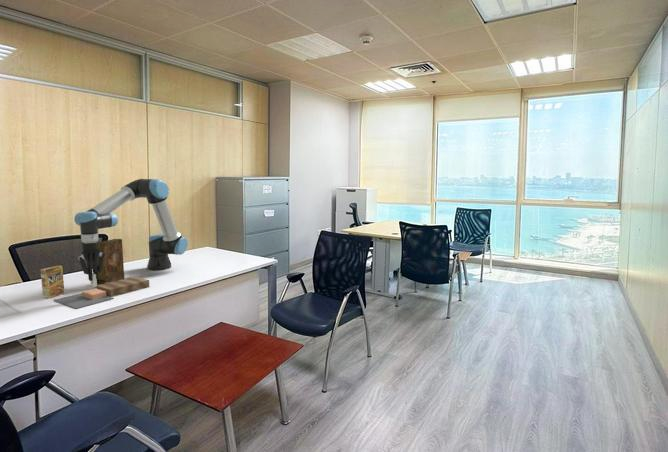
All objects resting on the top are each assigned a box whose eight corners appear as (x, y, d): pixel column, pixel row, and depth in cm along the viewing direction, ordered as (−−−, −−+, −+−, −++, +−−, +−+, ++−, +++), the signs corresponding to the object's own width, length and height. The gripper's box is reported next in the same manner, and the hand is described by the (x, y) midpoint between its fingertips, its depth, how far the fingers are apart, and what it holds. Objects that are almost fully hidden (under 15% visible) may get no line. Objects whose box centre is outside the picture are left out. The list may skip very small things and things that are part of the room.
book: (118, 278, 239) (115, 238, 236) (125, 279, 238) (123, 239, 235) (96, 286, 224) (93, 243, 220) (105, 286, 222) (102, 243, 219)
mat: (90, 291, 213) (90, 290, 213) (113, 299, 202) (113, 298, 202) (53, 300, 198) (53, 299, 198) (76, 309, 187) (76, 308, 187)
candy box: (47, 298, 201) (45, 269, 199) (42, 297, 203) (39, 268, 200) (65, 293, 209) (62, 266, 207) (59, 292, 211) (57, 265, 209)
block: (96, 292, 210) (95, 288, 210) (106, 296, 205) (106, 291, 205) (82, 296, 204) (82, 291, 204) (92, 299, 199) (92, 294, 199)
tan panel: (135, 283, 231) (134, 276, 230) (149, 287, 224) (149, 280, 223) (96, 292, 212) (96, 285, 212) (111, 297, 205) (110, 289, 204)
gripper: (80, 244, 193) (84, 290, 196) (107, 240, 204) (110, 284, 207) (72, 243, 197) (76, 288, 200) (99, 239, 208) (102, 281, 211)
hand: (93, 286), depth 204 cm, fingers closed
